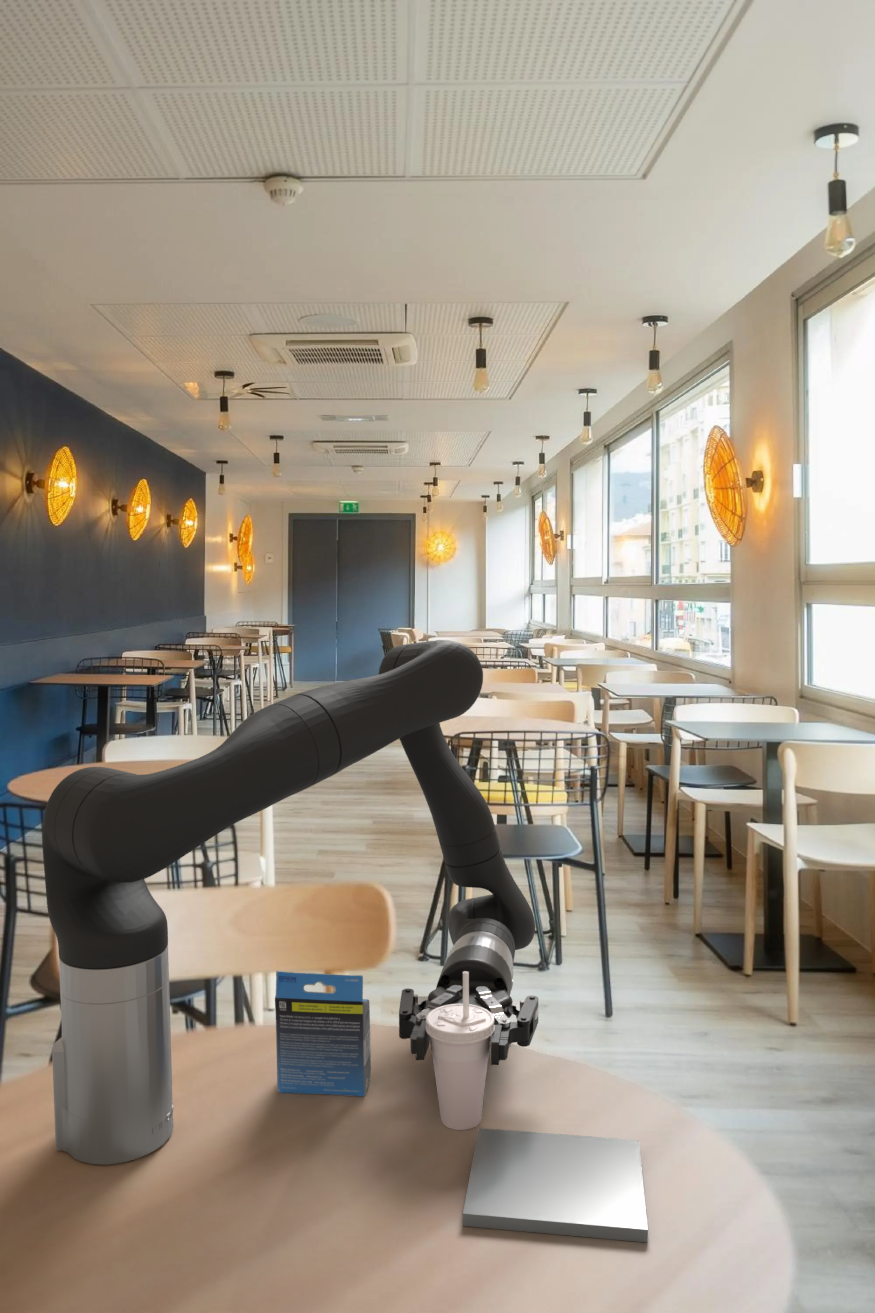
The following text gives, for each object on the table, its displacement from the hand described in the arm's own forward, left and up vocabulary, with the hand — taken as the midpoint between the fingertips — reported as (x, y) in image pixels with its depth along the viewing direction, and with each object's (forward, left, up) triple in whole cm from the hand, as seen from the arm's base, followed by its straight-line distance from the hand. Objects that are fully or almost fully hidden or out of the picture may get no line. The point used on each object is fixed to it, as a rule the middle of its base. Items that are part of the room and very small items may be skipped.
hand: (457, 1052), depth 88 cm
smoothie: (0, +2, -8) cm, 8 cm away
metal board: (+9, -7, -8) cm, 13 cm away
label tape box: (-14, +6, -8) cm, 17 cm away
